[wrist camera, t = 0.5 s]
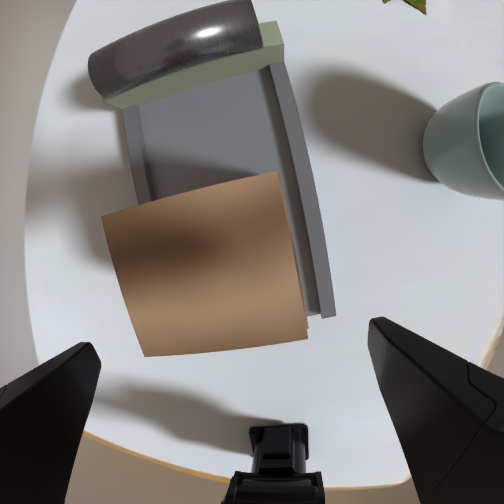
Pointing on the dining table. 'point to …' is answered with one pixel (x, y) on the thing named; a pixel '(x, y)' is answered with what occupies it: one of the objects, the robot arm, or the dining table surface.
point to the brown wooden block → (210, 268)
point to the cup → (469, 143)
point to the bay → (216, 118)
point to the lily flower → (416, 4)
